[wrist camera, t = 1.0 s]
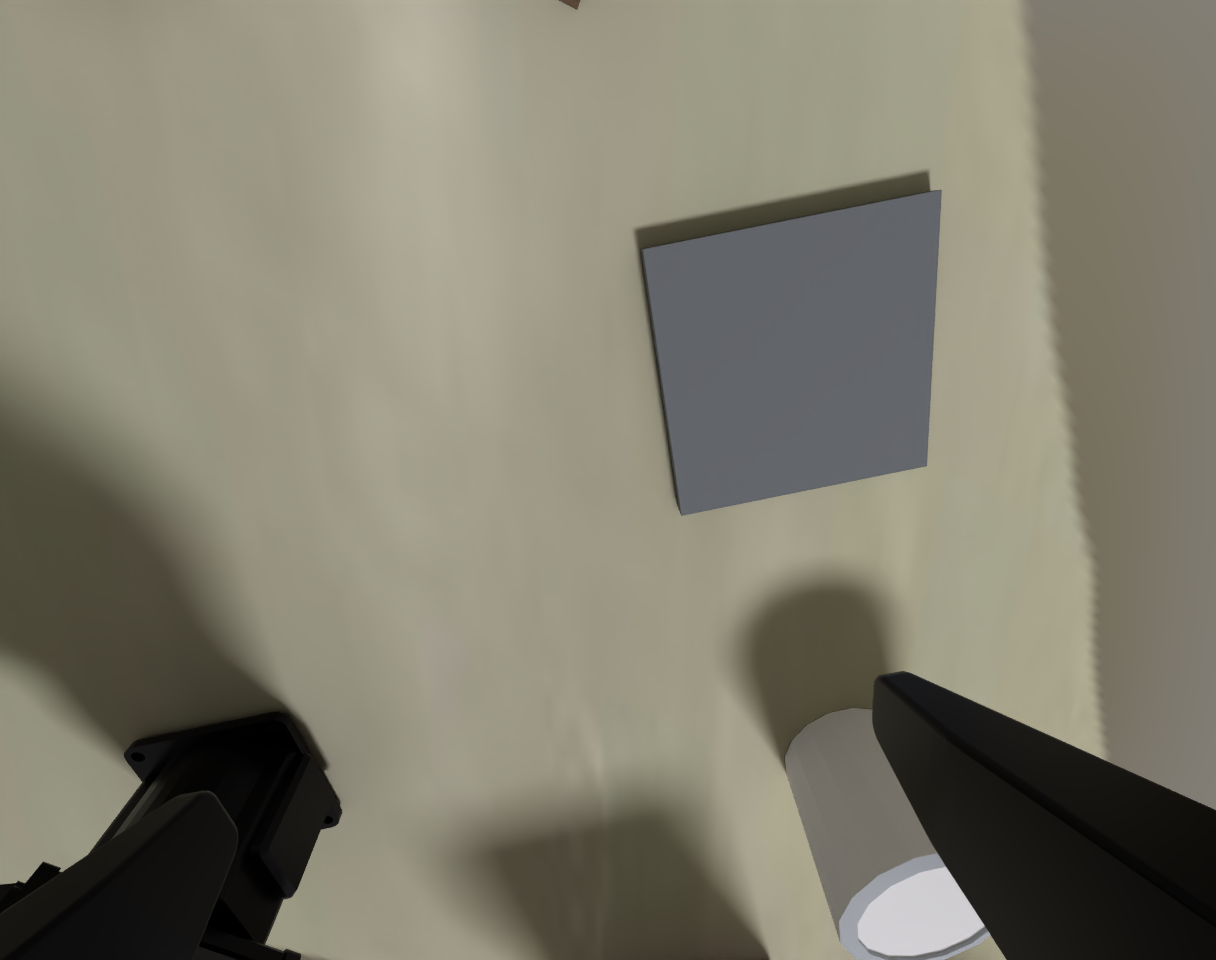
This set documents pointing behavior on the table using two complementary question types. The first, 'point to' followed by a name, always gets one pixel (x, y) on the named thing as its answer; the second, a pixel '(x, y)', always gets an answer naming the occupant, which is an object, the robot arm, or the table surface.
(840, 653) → the table surface
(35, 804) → the table surface
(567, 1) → the socket
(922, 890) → the white cup
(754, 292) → the mat
